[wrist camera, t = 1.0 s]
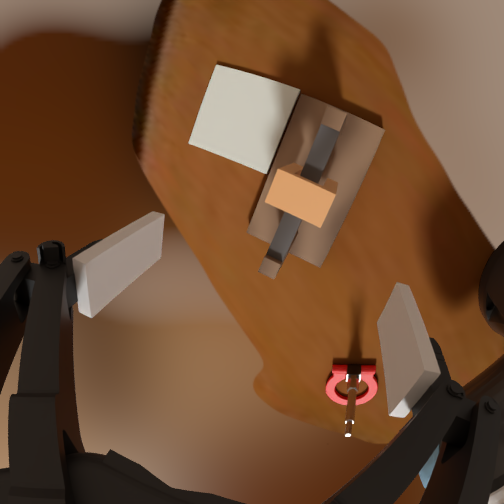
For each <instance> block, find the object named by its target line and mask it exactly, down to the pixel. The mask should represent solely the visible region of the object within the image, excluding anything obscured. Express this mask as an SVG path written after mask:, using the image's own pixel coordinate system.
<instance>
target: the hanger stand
mask: <svg viewBox="0 0 504 504" xmlns="http://www.w3.org/2000/svg"><path fill="white" fill-rule="evenodd" d="M384 131H385V130H384V129H382V128H380V127H378V126H376V125H374V124H372V123H370V122H368V121H366V120H363V119H361V118H359V117H357V116H355V115H353V114H350V113H348V112H346V111H343V110H341V109H339V108H336V107H334V106H332V105H329V104H327V103H324V102H322V101H319V100H317V99H314V98H312V97H309V96H307V95H304V94H301V95H300V98H299V100H298V103H297V105H296V108H295V110H294V113H293V115H292V118H291V120H290V123H289V125H288V128H287V130H286V133H285V135H284V138H283V140H282V143H281V146H280V148H279V151H278V153H277V156H276V158H275V161H274V163H273V166H272V168H271V171H270V173H269V176H268V178H267V181H266V184H265V186H264V189H263V191H262V194H261V196H260V199H259V201H258V204H257V207H256V209H255V212H254V214H253V217H252V220H251V222H250V225H249V227H248V230H247V232H246V233H248V234H251V235H253V236H255V237H257V238H259V239H261V240H263V241H265V242H268V243H270V244H271V245H270V247H269V249H268V252H267V254H266V255H265V257H264V259H263V261H262V264H261V266H260V268H259V271H258V272H260V273H262V274H264V275H266V276H268V277H270V278H272V279H274V278H275V277H276V275H277V273H278V271H279V269H280V268H281V266H282V264H283V262H284V260H285V258H286V257H287V255H288V253H291V254H293V255H295V256H297V257H299V258H301V259H303V260H305V261H307V262H309V263H311V264H314V265H316V266H318V267H321V265H322V263H323V261H324V260H325V258H326V256H327V254H328V252H329V250H330V248H331V246H332V244H333V242H334V240H335V238H336V236H337V234H338V232H339V230H340V228H341V226H342V224H343V222H344V220H345V218H346V216H347V213H348V211H349V209H350V207H351V205H352V203H353V201H354V199H355V197H356V195H357V192H358V190H359V188H360V186H361V184H362V182H363V179H364V177H365V175H366V173H367V170H368V168H369V166H370V164H371V161H372V159H373V157H374V155H375V152H376V150H377V148H378V145H379V143H380V141H381V138H382V136H383V134H384ZM292 163H296V164H298V165H301V166H303V169H302V171H301V174H300V176H302V177H304V178H306V179H308V180H311V181H313V182H315V183H317V184H319V185H322V186H324V184H325V182H326V180H327V178H329V179H332V180H334V181H336V182H338V186H337V192H336V196H335V198H334V200H333V202H332V205H331V207H330V209H329V211H328V213H327V215H326V218H325V220H324V222H323V224H322V226H321V228H319V227H317V226H315V225H313V224H311V223H309V222H307V221H305V220H302V219H300V218H298V217H296V216H294V215H292V214H290V213H287V212H285V211H283V210H281V209H279V208H276V207H274V206H272V205H270V204H268V203H265V200H266V197H267V195H268V192H269V190H270V187H271V185H272V182H273V179H274V177H275V174H276V172H277V169H278V168H281V167H284V166H286V165H289V164H292Z"/></svg>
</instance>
